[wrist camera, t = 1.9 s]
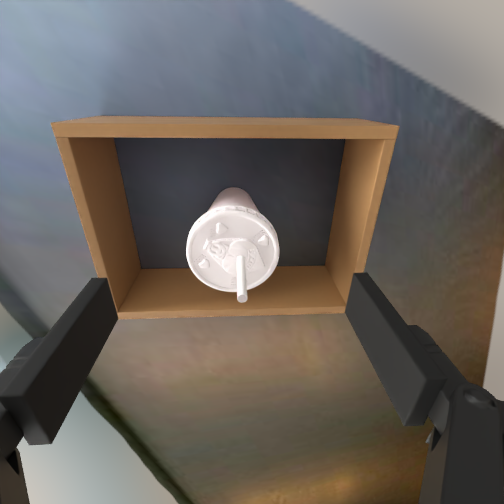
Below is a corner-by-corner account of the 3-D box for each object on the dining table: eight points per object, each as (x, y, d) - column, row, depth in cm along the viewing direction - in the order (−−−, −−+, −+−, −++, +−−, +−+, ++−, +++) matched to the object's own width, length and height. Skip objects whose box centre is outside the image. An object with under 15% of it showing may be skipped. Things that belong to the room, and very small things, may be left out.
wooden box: (99, 115, 23) (50, 122, 17) (357, 118, 24) (399, 126, 18) (135, 275, 30) (110, 319, 24) (330, 271, 32) (353, 313, 26)
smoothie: (249, 244, 29) (259, 350, 17) (190, 221, 28) (156, 319, 16) (277, 190, 27) (314, 269, 14) (215, 160, 25) (196, 221, 13)
